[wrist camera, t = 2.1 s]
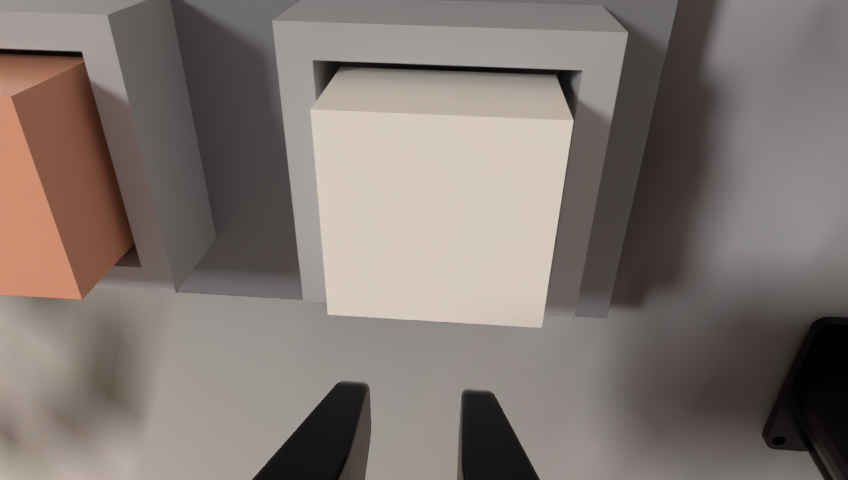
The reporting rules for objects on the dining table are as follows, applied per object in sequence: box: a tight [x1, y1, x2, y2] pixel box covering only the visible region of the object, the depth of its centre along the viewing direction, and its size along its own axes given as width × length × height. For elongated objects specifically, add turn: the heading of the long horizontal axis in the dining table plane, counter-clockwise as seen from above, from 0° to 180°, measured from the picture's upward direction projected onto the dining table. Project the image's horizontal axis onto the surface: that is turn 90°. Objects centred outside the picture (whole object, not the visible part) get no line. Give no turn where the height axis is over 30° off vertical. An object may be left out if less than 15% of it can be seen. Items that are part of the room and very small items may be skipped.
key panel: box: [0, 0, 678, 318], centre depth 17 cm, size 12×22×5 cm, turn 89°
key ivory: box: [310, 67, 574, 328], centre depth 14 cm, size 5×5×3 cm
